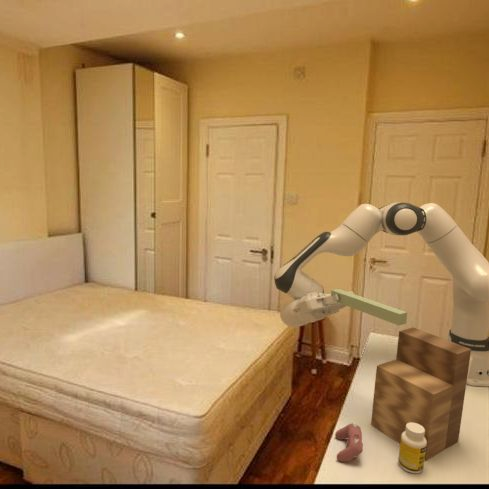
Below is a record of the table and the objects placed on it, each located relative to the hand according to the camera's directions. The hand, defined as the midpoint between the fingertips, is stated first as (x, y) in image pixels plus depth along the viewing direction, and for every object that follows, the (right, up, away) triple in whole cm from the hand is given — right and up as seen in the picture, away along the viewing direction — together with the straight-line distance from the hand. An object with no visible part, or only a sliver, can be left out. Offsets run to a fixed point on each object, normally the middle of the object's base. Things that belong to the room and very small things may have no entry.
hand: (344, 296), depth 118 cm
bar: (+4, -3, -6) cm, 8 cm away
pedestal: (+15, -34, -14) cm, 40 cm away
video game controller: (-4, -35, -21) cm, 41 cm away
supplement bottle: (+9, -36, -26) cm, 45 cm away
